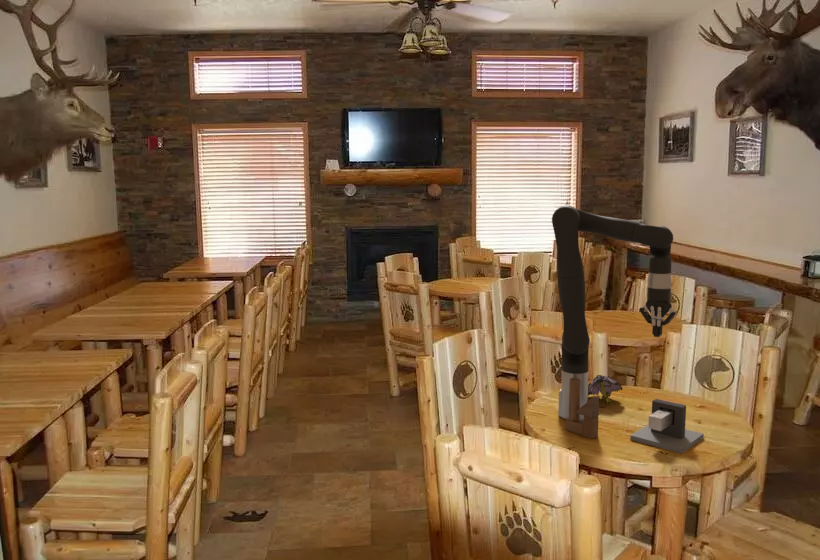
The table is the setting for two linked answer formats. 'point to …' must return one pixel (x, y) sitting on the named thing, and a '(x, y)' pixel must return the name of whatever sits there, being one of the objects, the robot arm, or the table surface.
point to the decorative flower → (603, 386)
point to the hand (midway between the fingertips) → (657, 336)
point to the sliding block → (661, 418)
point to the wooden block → (582, 412)
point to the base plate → (667, 439)
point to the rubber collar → (679, 418)
